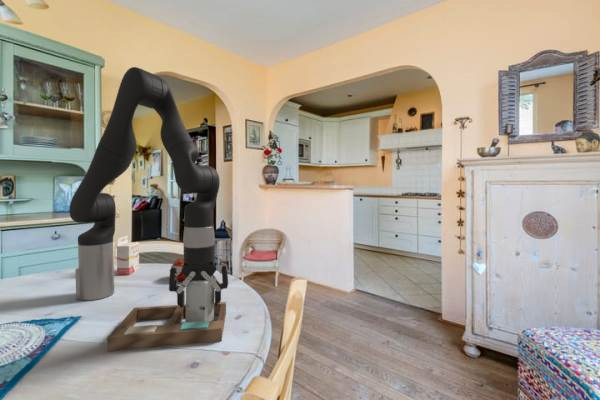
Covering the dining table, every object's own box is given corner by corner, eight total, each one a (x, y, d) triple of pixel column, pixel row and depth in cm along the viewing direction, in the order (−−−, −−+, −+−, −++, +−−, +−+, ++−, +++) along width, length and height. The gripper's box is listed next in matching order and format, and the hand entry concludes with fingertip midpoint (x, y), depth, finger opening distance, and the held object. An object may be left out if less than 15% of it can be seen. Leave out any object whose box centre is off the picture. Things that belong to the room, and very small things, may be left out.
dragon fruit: (178, 278, 114) (190, 291, 105) (160, 270, 108) (171, 282, 100) (191, 260, 116) (204, 271, 107) (175, 251, 110) (187, 261, 102)
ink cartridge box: (129, 275, 112) (129, 238, 112) (116, 275, 112) (115, 238, 111) (140, 268, 121) (139, 234, 120) (128, 269, 120) (127, 234, 120)
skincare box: (184, 326, 72) (184, 280, 72) (195, 318, 77) (195, 274, 76) (205, 330, 70) (204, 282, 70) (215, 322, 75) (215, 277, 74)
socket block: (107, 351, 61) (107, 335, 61) (134, 318, 76) (134, 306, 76) (221, 340, 66) (221, 326, 66) (226, 312, 81) (226, 300, 80)
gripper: (165, 247, 67) (166, 313, 68) (226, 245, 70) (227, 309, 71) (173, 241, 75) (174, 301, 75) (228, 239, 77) (228, 297, 78)
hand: (199, 305), depth 73 cm, fingers open, 8 cm apart
